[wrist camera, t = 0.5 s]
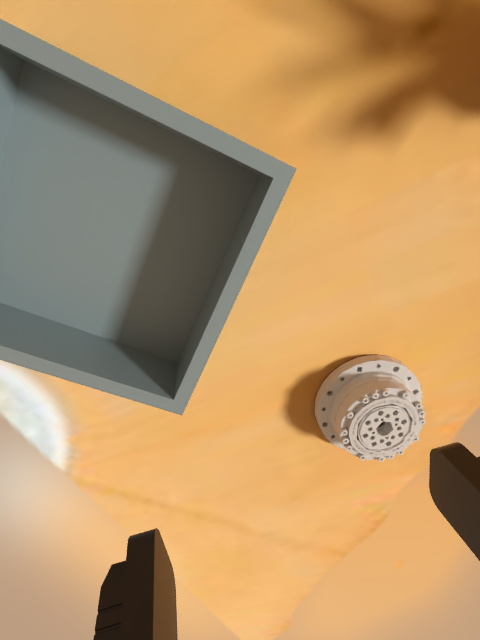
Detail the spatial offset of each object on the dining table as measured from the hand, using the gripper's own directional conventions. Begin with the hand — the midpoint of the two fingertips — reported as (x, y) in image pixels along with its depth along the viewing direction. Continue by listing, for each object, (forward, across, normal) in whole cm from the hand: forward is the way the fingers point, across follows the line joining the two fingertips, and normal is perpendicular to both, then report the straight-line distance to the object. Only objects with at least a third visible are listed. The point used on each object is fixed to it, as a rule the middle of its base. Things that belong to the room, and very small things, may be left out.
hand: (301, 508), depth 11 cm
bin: (+23, +6, -6) cm, 24 cm away
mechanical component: (+21, -12, +14) cm, 28 cm away
